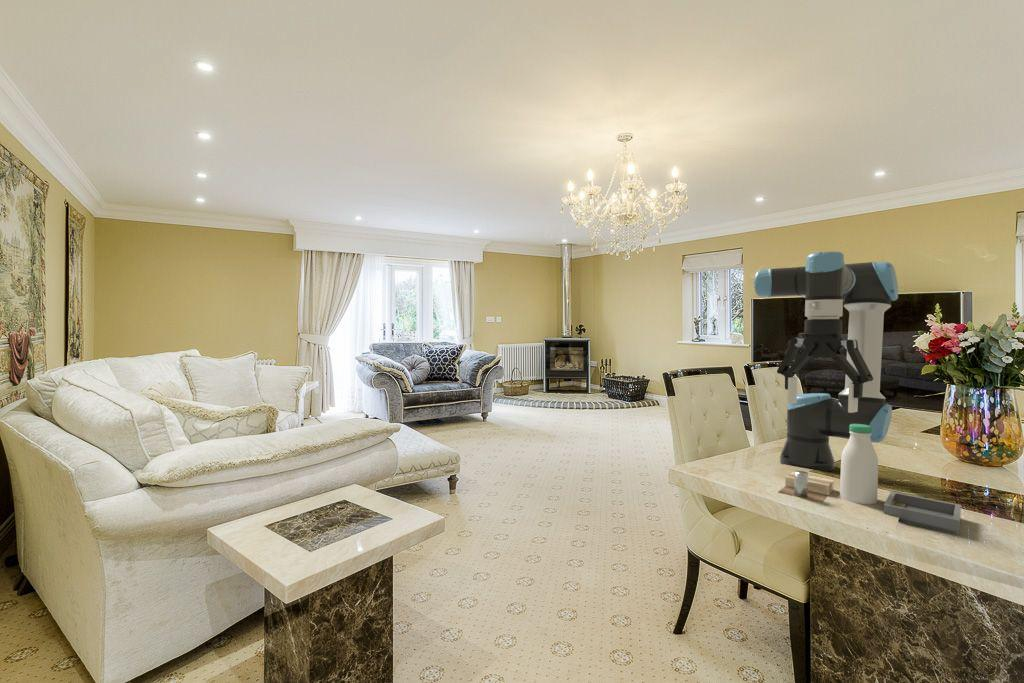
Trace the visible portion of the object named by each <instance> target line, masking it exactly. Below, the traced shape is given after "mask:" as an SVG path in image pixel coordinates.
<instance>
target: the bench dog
mask: <svg viewBox="0 0 1024 683" xmlns="http://www.w3.org/2000/svg"><path fill="white" fill-rule="evenodd" d="M794 473H795V476H794V495H795V496H794V497H796V496H797V498H800V497H802V499H805V498H806V497H808V476H809V472H806V471H802V470H795V471H794Z"/></svg>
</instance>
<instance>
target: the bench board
mask: <svg viewBox="0 0 1024 683" xmlns="http://www.w3.org/2000/svg"><path fill="white" fill-rule="evenodd" d="M834 490H835V489H834V488H833V491H834ZM778 493H779V494H783V495H788V496H792V497H797V496H795V495H794V488H792V487H788V486H783V487H782V488H781V489H780V490H779V491H777V494H778ZM828 496H829V495H825V494H820V493H816V492H811V491H808V497H806V498H804V499H806V500H808V501H809V500H810V501H813V502H814V501H815V502H818V503H819V502H820V503H823V502H824V501H825V500H826V498H828ZM797 498H798V497H797ZM799 498H800V499H801V498H802V497H799ZM802 499H803V498H802Z"/></svg>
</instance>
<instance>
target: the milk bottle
mask: <svg viewBox="0 0 1024 683" xmlns="http://www.w3.org/2000/svg"><path fill="white" fill-rule="evenodd" d="M849 430H850V432H849V433H850V438H849V439H848V440H847V443H846V444H845V446H844V448H843V449H842V453H841V460H840V476H839V477H840V480H839V482H840V483H839V486H840V487H839V498H841V499H843V500H845V501H848V502H850V503H855V504H861V505H876V504H877V503H878V486H879V484H878V483H879V459H878V458H879V457H878V455H877V452H876V450H875V448H874V446H873V442H871V439H870V436H871V435H872V434H871V432H872V427H871V426H868V425H863V424H850V426H849Z"/></svg>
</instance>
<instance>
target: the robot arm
mask: <svg viewBox="0 0 1024 683" xmlns="http://www.w3.org/2000/svg"><path fill="white" fill-rule="evenodd" d="M844 256H845V255H844V253H843V252H841V251H834V250H833V251H819V252H813V253H810V254H808V255H807V257H806V261H805V262H806V263H805V266H797V267H795V266H792V267H782V268H781V267H779V268H766V269H760V270H758V271H756V273H755V275H754V279H753V288H754V292H755V294H756V296H758V297H762V298H764V297H765V298H766V297H767V298H774V297H802V298H805V299H804V300H805V304H804V317H806V318H807V319H805V320H804V327H803V328H804V338H800V337H791V338H790V343H789V344H790V345H789V347H788V349H787V351H786V353H785V355H784V357H783V358H782V361H781V362H780V365H779V366H778V368H777V369H776V373H777V374H778V375H779V374H780V375H781V376H784V390H787V408H786V410H787V411H786V412H787V413H786V441H785V442H784V445H783V447H782V450H781V453H780V455H779V463H780V464H782V465H785V466H791V467H795V468H801V469H808V470H813V471H818V472H822V473H823V472H824V473H828V472H833V471H835V470H836V461H835V458H834V455H833V452H832V450H831V446H830V438H831V437H832V438H833V437H834V438H838V439H839V438H840V439H846V440H849V438H850V433H849V432H850V430H849V426H850V424H863V425H868V426H871V427H872V432H871V434H872V435H871V436H870V439H871V443H881V442H883V441H884V440H885V438H886V436H887V435H888V431H889V427H890V425H891V420H892V411H893V406H892V405H891V404H889V403H886V401H887V400H886V397H885V396H884V395H883V394H882V392H880V390H881V375H882V374H881V373H882V357H883V356H882V355H883V353H882V352H883V336H884V319H885V318H884V316H885V312H886V311H887V310H889V309H890V308H892V302H894V301H897V300H898V299H899V287H898V286H899V285H898V278H897V274H896V270H895V267H894V265H893V264H892V263H891V262H889V261H870V262H858V263H845V257H844ZM843 308H845V309H846V310H847V311H848V315H849V316H848V326H847V329H848V332H847V339H846V340H843V338H842V334H843V320H842V319H841V318H840V317H843V315H844V312H843V311H844V310H843ZM802 346H803V347H804V348H805V349H804V350H803V352H802V353H801V355H800V356H799V357H798V358H797V359H796V360H795V358H796V356H797V355H798V352H799V350H800V348H801V347H802ZM842 347H844V349H846V356H845V355H844V353H843V352H842V351H841V349H842ZM813 358H824V359H832V360H833V361H835V363H836V364H837V365H838V366H839V368H840V369H841V370H842V372H844V373H845V378H844V379H845V380H844V383H845V384H844V389H843V390H841V391H840V392H839V393H838V398H837V399H835V398H834V399H833V398H832V396H831V394H830V393H823V392H821V393H820V392H818V393H817V392H815V393H814V392H812V393H800V394H798V377H797V376H796V374H797V373H798V372H799V371H800V369H801V368H803V367H804V365H805V364H806V363H807V362H809V360H810V359H813ZM794 360H795V361H794ZM793 361H794V362H793Z"/></svg>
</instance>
